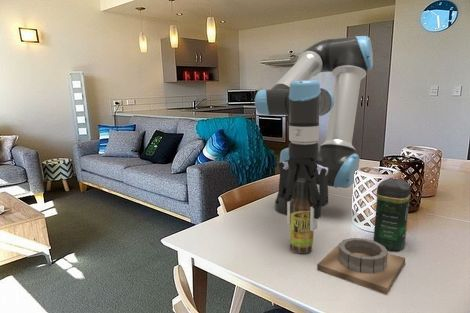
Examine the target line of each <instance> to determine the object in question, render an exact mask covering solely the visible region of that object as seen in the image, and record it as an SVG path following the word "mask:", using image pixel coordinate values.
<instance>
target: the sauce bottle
mask: <svg viewBox="0 0 470 313" xmlns="http://www.w3.org/2000/svg"><path fill="white" fill-rule="evenodd" d="M296 186H297V188H296V197H295V199H294V200H293V201H292V204H291V221H290V225H289V248H290V250H291V251H293V253H294V252H295V253H298V254H308V253H310V252H311V251H312V249H313V242H314V241H313V240H314V231H310V207H311V206H313V202H312V199H311V198H310V196H311V195H310V191H309V187H308V184H307V182H306V180H305V178H299V179H297V180H296Z"/></svg>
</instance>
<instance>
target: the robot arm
mask: <svg viewBox="0 0 470 313" xmlns="http://www.w3.org/2000/svg"><path fill="white" fill-rule="evenodd" d="M373 56H374V55H373V46H372V41H371V38H370V37H369V36H368V35H359V36H358V35H355V36H349V37H339V38H327V39H324V40H323V39H322V40H320V41H317V42H315V43H314V44H312V45H310V46H308V47H307V48H306V49H305V50H303V51H302V52H301V53H300V54H299V56H298V57H297V59H296V62H295V64H293V66H291V67H290V69H288V71H286V73H285V74H284V75H283V76H282V77H281V78H280V79H279V80H278V81H277V82H276V83H275V84H274V85H273V86H272V87H271V88H270V89H267V88H266V89H261V90H258V91H257V93H256V94H255V97H254V107H255V110H256V112H257V113H258V114H259V115H263V116H264V115H265V116H288V117H289V118H288V120H289V122H288V140H289V141H290V142H289V143H288V147H286V148H284V149H282V150H281V151H280V156H279V163H278V168H279V184H278V193H277V195H276V198H275V202H274V208H275V211H277V212H278V213H280V214H284V215H286V216H287V217H286V218H287V219H286V220H287V221H286V224H287V225H289V226H290V221H291V204H292V201H293V200H294V199H295V197H296V188H297V186H296V180H297V179H299V178H305V180H306V182H307V184H308V187H309V191H310V195H311V196H310V198H311V199H312V202H313V206H311V207H310V231H313V232H314V231H315V230H317V229H318V219H320V218H321V216H322V214H321V212H322V211H321V209H322V208H323V207H325V206H326V205H328V204H329V187H334V188H335V189H338V188H339V189H340V188H343V189H347V188H350V187H352V186H353V184H354V183H355V181H354V174H355V171H357V170H358V171H359V168H360V161H361V159H360V156H359V154H357V153H356V148H355V147H354V145H353V137H354V130H355V129H354V128H355V122H356V117H357V116H356V115H357V109H358V103H359V102H358V101H359V94H360V89H361V88H360V87H361V80H363V79H364V78H365V77H366V76H367V72H368V71H371V70H372V69H373V66H374V57H373ZM328 72H329V73H331V76H333V77H334V79H335V80H334V85H333V92H331V91H330V90H328V89H325V88H323V87H321V83H320V81H319V80H312V78H313V77H316V76H317V75H319V74H320V73H328ZM328 113H329V119H328V124H327V131H326V136H325V141H324V142H323V143H322V144H321V143H320V147H319V143H318V142H319V140H320V138H319V137H320V117H323V116H325V115H327V114H328Z"/></svg>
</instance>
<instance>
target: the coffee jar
mask: <svg viewBox="0 0 470 313" xmlns="http://www.w3.org/2000/svg"><path fill="white" fill-rule="evenodd" d="M410 195H411V184H410V183H408V182H407V181H406V180H405V179H400V178H394V177H389V178H387V179H384V180H382V181H380V183H378V185H377V191H376V204H375V206H376V208H375V219H374V230H373V240H372V241H375V242H377V243H379V244H381V245H383V246H384V247H385V248H386V250H387V251H400V250H402V249H403V247H404V246H405V245H406V238H407V236H406V235H407V225H408V216H409V208H410Z"/></svg>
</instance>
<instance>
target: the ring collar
mask: <svg viewBox="0 0 470 313" xmlns="http://www.w3.org/2000/svg"><path fill="white" fill-rule="evenodd" d="M388 251H389V250H387V249H386V248H385V247H384V246H383V245H381V244H379V243H377V242H375V241H373V240H371V239H368V238H360V237H351V238H350V237H349V238H345V239H343V240H342V241H340V242H339V243H338V244H337V245H336V246H335V247H334V248H333V249H332V250H331V251H330V252H329V253H328V254H326V256H325V257H323V258H322V259H321V260H320V261H319V262H318V263H317V264H316V270H317V271H319V272H322V273H324V274H327V275H330V276H333V277H336V278H339V279H342V280H345V281H346V282H350V283H353V284H356V285H358V286H362V287H365V288H367V289H370V290H372V291H373V290H374V291H376V292H379V293H382V294H384V295H388V293H389V292H390V289H391V288H392V287H393V285H394V283H395V282H396V280H397V278H398V276H399V275H400V273H401V271H402V270H403V268H404V266H405V264H406V257H403V256H401V255H396V254H392V253H389V252H388Z"/></svg>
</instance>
